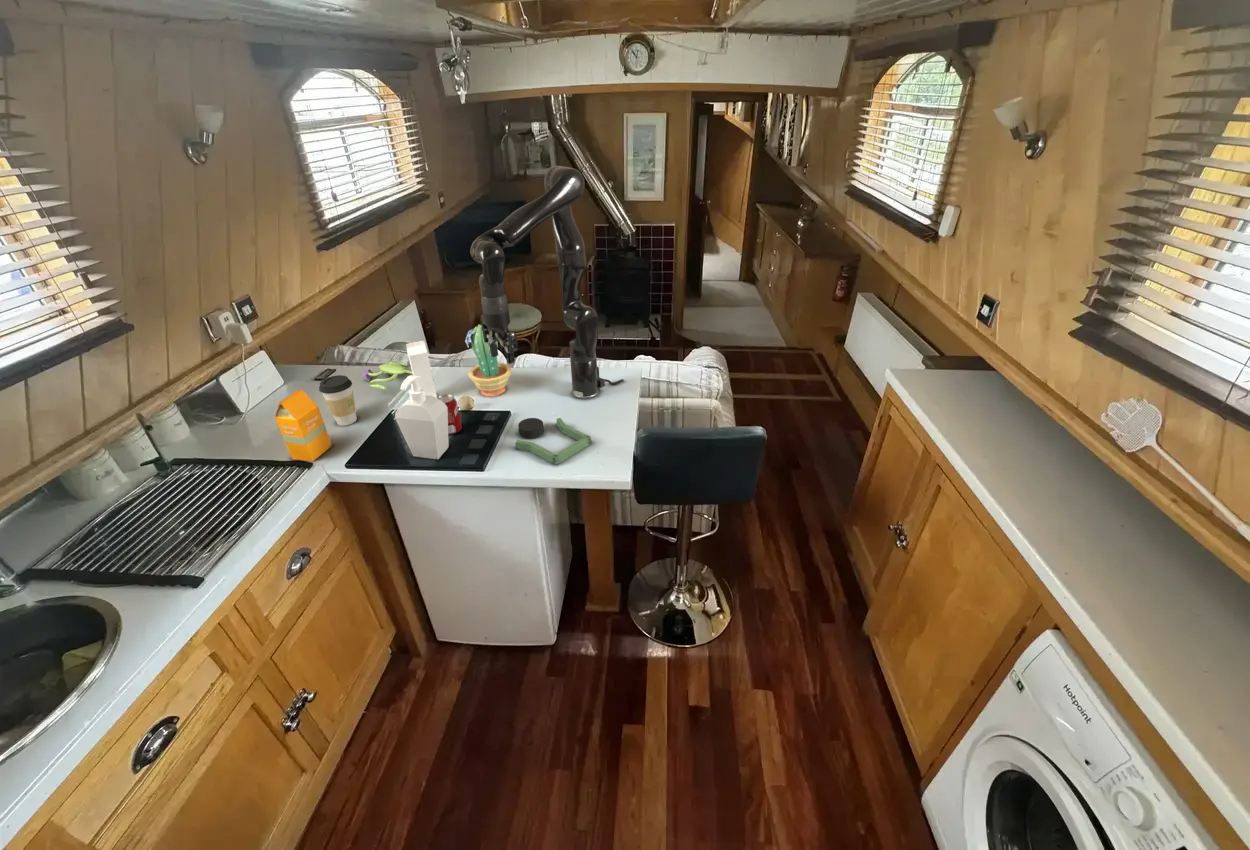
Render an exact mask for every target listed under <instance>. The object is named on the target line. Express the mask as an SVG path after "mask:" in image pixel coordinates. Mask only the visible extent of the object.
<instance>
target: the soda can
mask: <svg viewBox="0 0 1250 850" xmlns="http://www.w3.org/2000/svg"><path fill="white" fill-rule="evenodd" d="M437 398H438V399H439V400H441V401H442V402H443V403H445V405H446V406H447V407H448V436H449V435H455V434H457V433H459V432H461V430H462V429H463V425H462V420H461V416H460V409H459V405H458V400H457V399H455V396H454V395H453V394H451V393H450V394H449V393H445V394H444V393H443V394H440V395H439V396H438V395H437Z"/></svg>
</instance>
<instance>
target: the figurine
mask: <svg viewBox="0 0 1250 850" xmlns="http://www.w3.org/2000/svg"><path fill="white" fill-rule="evenodd" d="M409 364H410V361H406V362H400V361H394V360H389V362H388V363H381V364H380V365H379V367H378V368H379V369H380V371H378V372H373V371H372V370H371V369H370V368H368V369H366V370H365V371H364V373H363V375H362V377H363V378H364V379H365V380H366V381H367V382H369V387H371V388H372V389H373V388H374V389H381V390H383V391H384V392H386V391H388V387H386V386H384V385H383V384H375V383H380V382H381V383H388V382H391V381H394V380H395V379H397V378H398V375H402V374H410V375H413V374H412V370H409V369H406V367H408V366H410V365H409ZM387 374H388V375H389V377H388V378H375V379H372V378H373V377H377V376H380V375H387ZM391 375H392V376H391Z"/></svg>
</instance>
